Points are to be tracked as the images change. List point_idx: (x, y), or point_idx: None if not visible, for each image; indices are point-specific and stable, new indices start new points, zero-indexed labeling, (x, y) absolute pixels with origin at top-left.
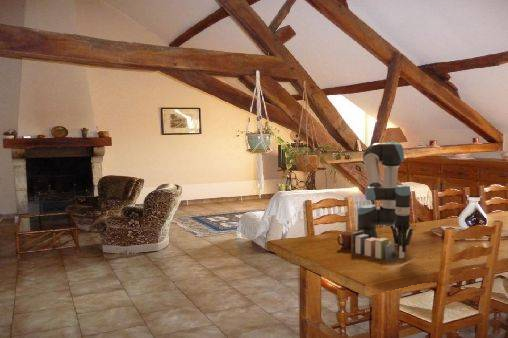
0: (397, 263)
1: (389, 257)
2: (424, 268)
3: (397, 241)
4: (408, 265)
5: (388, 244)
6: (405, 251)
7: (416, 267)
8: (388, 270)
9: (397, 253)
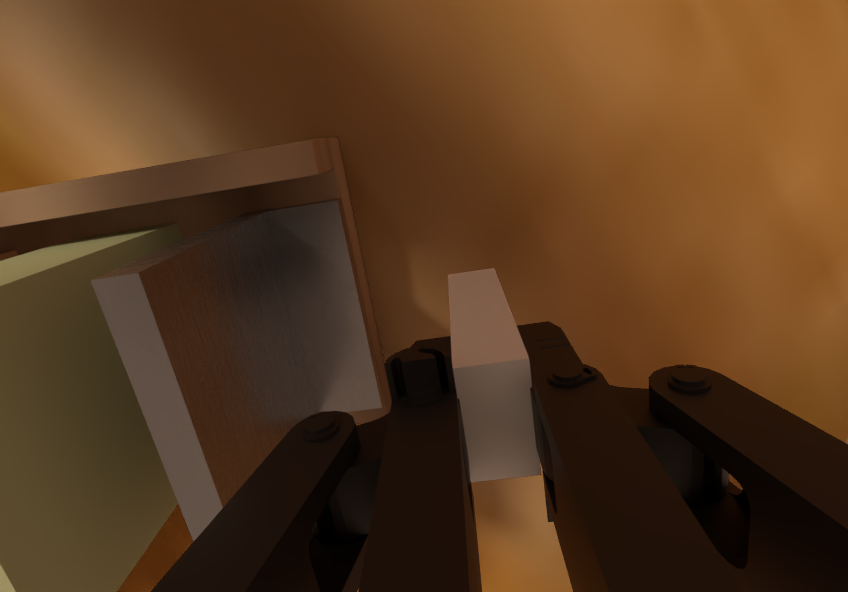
0: (417, 296)
1: (300, 359)
2: (797, 198)
3: (348, 494)
4: (567, 256)
5: (172, 483)
6: (552, 324)
7: (691, 247)
8: (525, 564)
9: (278, 180)
